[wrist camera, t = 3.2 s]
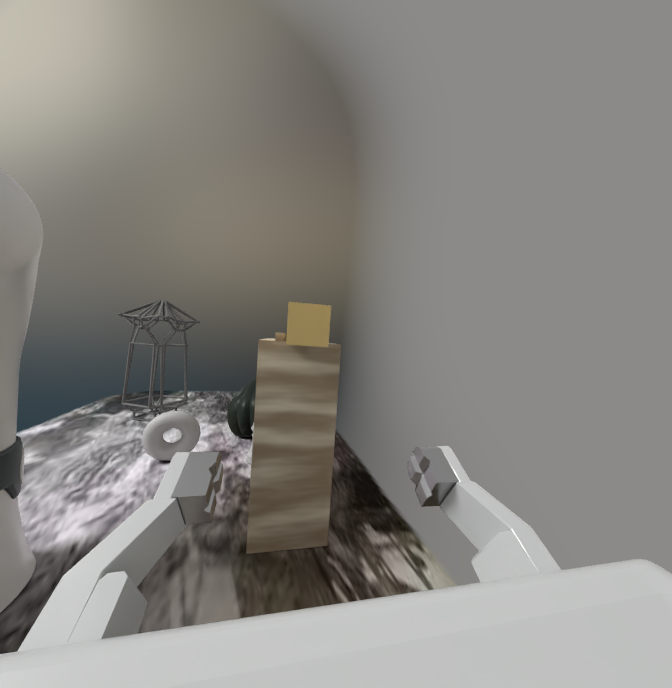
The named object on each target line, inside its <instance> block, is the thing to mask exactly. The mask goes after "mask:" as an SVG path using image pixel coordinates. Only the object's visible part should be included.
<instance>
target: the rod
mask: <svg viewBox="0 0 672 688" xmlns="http://www.w3.org/2000/svg"><path fill="white" fill-rule="evenodd" d="M330 313H331V306H328V305H317V304H305V303H296V302H289V307H288V323H287V340H286V345H301V346H318V347H328V343H329V327H330Z"/></svg>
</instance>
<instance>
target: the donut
mask: <svg viewBox="0 0 672 688" xmlns="http://www.w3.org/2000/svg"><path fill="white" fill-rule="evenodd" d="M170 428H177V429H179V430H180V431H181V433H182V437H181V439H180V440H179V441H177V442H174V443H169V442H166V441H165V440H164V439H163V433H164V432H165V431H166V430H167V429H170ZM199 437H200V426H199V424H198V422H197V420H196V419H195V418H194V417H193V416H192V415H190V414H188V413H185V412H183V411H170V412H165V413H163V414H161V415H158V416H156V417H155V418H154V419H153V420H151V421H150V422H149V423H148V425H147V426H146V428H145V429H144V432H143V436H142V444H143V448H144V449H145V451H146V452H147V454H149V455H150V456H152V457H153V458H155V459H159V460H172V457H173V456H174V455H175V454H176V452H190V451H191V450H192V449H194V447H195V446H196V444H197V442H198V441H199Z"/></svg>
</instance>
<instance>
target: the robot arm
mask: <svg viewBox="0 0 672 688" xmlns="http://www.w3.org/2000/svg"><path fill="white" fill-rule="evenodd" d="M42 242H43V226H42V221H41V218H40V215H39V213H38V211H37V209H36V207H35V206H34V204H33V202H32V201H31V199H30V197H29V196H28V195H27V194H26V192H25V191H24V190H23V189H22V188H21V187H20V185H19V184H18V183H17V182H16V181H15V180H14V179H12V178H11V177H10V176H9V175H8V174H7V173H6V172H5V171H3V170H2V169H1V168H0V612H2V611H3V610H4V609H5V608H6V607H7V606H8V605H9V604H10V603H11V602H12V601H13V600H14V599H15V598H16V597H17V596H18V594H19V593H20V592H21V591H22V590H23V588H24V587H25V586H26V585H27V583H28V582H29V580H30V578H31V577H32V575H33V573H34V570H35V567H36V558H35V556H34V554H33V552H32V551H31V549H30V547H29V545H28V543H27V540H26V537H25V534H24V531H23V527H22V523H21V518H20V513H19V507H18V499H17V496H18V495H19V493H20V490H21V484H23V474H24V448H23V447H22V442H21V438H20V437H18V436H16V426H17V402H18V377H19V365H20V356H21V352H22V347H23V343H24V340H25V335H26V331H27V327H28V322H29V318H30V313H31V307H32V301H33V296H34V290H35V284H36V277H37V270H38V262H39V257H40V252H41V248H42ZM413 453H414V455H413V456H412V457H410V459H409V461H408V472H409V476H410V479H411V480H412V481H413V482H414V483H415V484H416V489H415V491H416V494H417V496H418V499H419V501H420V504H421V506H422V507H423V506H440V508H441V509H442V510H443V511H444V512H445V514H447V516H448V517H449V518H450V519H451V520H452V521H453V522H454V524H455V525H456V526H457V527H458V528H459V529H460V530H461V531H462V532H463V534H464V535H465V536H466V537H467V538H468V539H469V540H470V541H471V542H472V544H473V545H474V546H475V547H476V548H477V549H478V550H479V552H478V553H477V554H476V555H475V556H474V557H473V558H472V561H471V562H472V565H473V567H474V569H475V571H476V573H477V576H478V578H479V580H480V583H473V584H467V585H460V586H453V587H447V588H440V589H433V590H426V591H420V592H413V593H406V594H400V595H393V596H386V597H380V598H373V599H366V600H360V601H353V602H346V603H340V604H333V605H326V606H319V607H313V608H306V609H299V610H293V611H286V612H279V613H273V614H266V615H259V616H253V617H246V618H239V619H233V620H226V621H219V622H212V623H206V624H199V625H192V626H186V627H179V628H172V629H166V630H159V631H152V632H146V633H139V634H138V632H139V629H140V626H141V623H142V620H143V617H144V614H145V611H146V608H147V605H148V603H147V601H146V599H145V598H144V596H143V595H142V594H141V592H140V591H139V590H138V588H137V586H138V585H139V584H140V583H141V581H142V580H143V579H144V578H145V576H146V575H147V574H148V573H149V571H150V570H151V569H152V568H153V567H154V565H155V564H156V563H157V562H158V560H159V559H160V558H161V557H162V555H163V554H164V553H165V552H166V550H167V549H168V548H169V547H170V545H171V544H172V543H173V542H174V540H175V539H176V538H177V537H178V536H179V534H180V533H181V532H182V531H183V529H184V528H185V525H191V524H201V523H211V522H212V518H213V514H214V511H215V507H216V503H217V502H216V496H215V494H216V493H217V492H218V491H219V490H220V487H221V483H222V476H223V464H222V463H220V461H221V458H222V456H221V452H176V454H175V455H174V456H173V457H172V460H171V462H170V464H169V466H168V468H167V470H166V473H165V475H164V477H163V479H162V481H161V483H160V486H159V488H158V490H157V492H156V494H155V496H154V499H150V500H147V501H146V502H145V503H144V504H143V505H142V506H141V507H140V508H138V509H137V510H136V511H135V512H134V513H133V514H132V515H131V516H129V517H128V518H127V519H126V520H125V521H124V522H123V523H122V524H120V525H119V526H118V527H117V528H116V529H115V530H114V531H113V532H112V533H110V534H109V535H108V536H107V537H106V538H105V539H104V540H103V541H101V542H100V543H99V544H98V545H97V546H96V547H95V548H94V549H92V550H91V551H90V552H89V553H88V554H87V555H86V556H85V557H84V558H82V559H81V560H80V561H79V562H78V563H77V564H76V565H75V566H73V567H72V568H71V569H70V570H69V571H68V572H67V573H66V574H64V575H63V577H62V578H61V580H60V582H59V583H58V585H57V587H56V588H55V590H54V592H53V593H52V595H51V597H50V598H49V600H48V602H47V603H46V605H45V606H44V608H43V610H42V611H41V613H40V615H39V616H38V618H37V620H36V621H35V623H34V625H33V626H32V628H31V630H30V631H29V633H28V635H27V636H26V638H25V639H24V641H23V643H22V644H21V646H20V648H19V649H18V651H17V652H12V653H5V654H0V688H672V574H671V573H670V572H668V571H667V570H665V569H663V568H661V567H660V566H658V565H656V564H654V563H652V562H650V561H647V560H644V559H633V560H627V561H620V562H614V563H607V564H601V565H594V566H587V567H581V568H574V569H567V570H561V569H560V568H559V566H558V565H557V563H556V562H555V561H554V559H553V558H552V556H551V555H550V553H549V552H548V550H547V549H546V548H545V546H544V545H543V543H542V542H541V541H540V539H539V537H538V536H537V535H536V533H535V532H534V530H533V529H532V528H531V527H530V526H529V525H528V524H526V523H525V522H524V521H523V520H521V519H520V518H519V517H518V516H517V515H515V514H514V513H513V512H511V511H510V510H509V509H508V508H507V507H505V506H504V505H503V504H502V503H500V502H498V500H497V499H495V498H494V497H493V496H491V495H490V494H489V493H488V492H487V491H485V490H484V489H483V488H482V487H480V486H479V485H478V484H476V483H475V482H474V481H470V479H469V478H468V476H467V474H466V472H465V471H464V469H463V467H462V466H461V464H460V463H459V461H458V459H457V458H456V456H455V454H454V453H453V451H452V450H451V448H450V447H448V446H423V447H416V448H415V449H414V451H413Z"/></svg>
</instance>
